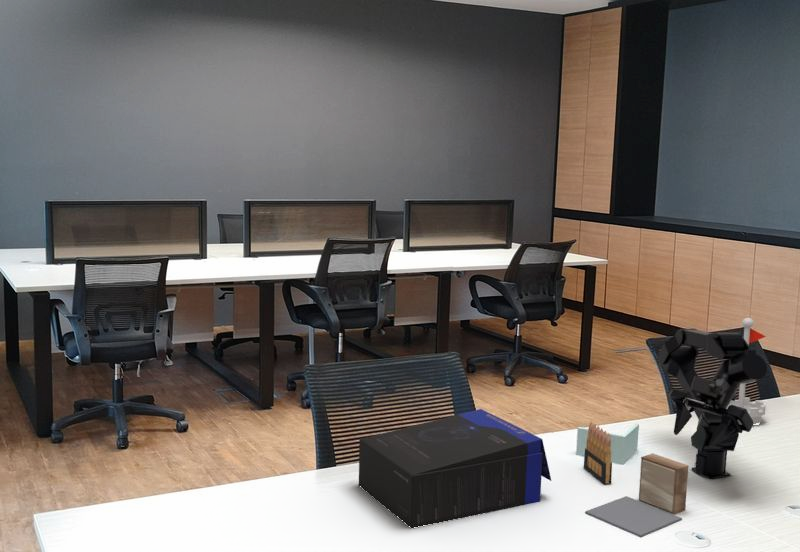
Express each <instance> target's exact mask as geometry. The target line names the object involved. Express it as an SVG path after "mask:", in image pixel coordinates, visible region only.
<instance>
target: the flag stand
mask: <svg viewBox="0 0 800 552" xmlns="http://www.w3.org/2000/svg"><path fill="white" fill-rule="evenodd" d="M741 325H742V326H743V328H744V330H743V338H744V339H745V341H746V342H747V344H748V345H749V346H750V344H752V343H753V342H756V341H759V340H761V339H764V338H766V337H767V336H766V335H764V334H762V333H760V332H759V331H756V330H755V329H752V327H753V326H754V321H753V319H752V318H750V317H746V318H744V319H742V324H741ZM746 384H747V383H744V384H742V383H741V384H740V386H739V388H738V391H739V392H738V399H736V400H735V401H733V400H731V402H730V403H729V405H728V406H730V405H735V406H738V407H741V408H745V409H746V410H747V411H748V413H749V415H750V416H751V418H752V420H753V424H756V423H759V422H760V423H761V419H762V417H763V416H764V415H766V409H767V407H766V404H764V402H763V401H761V400H759V399H757V400H756V399H755V401H754V402H752V401H751V397H747V396H746ZM727 408H728V407H727Z"/></svg>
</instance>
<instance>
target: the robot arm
mask: <svg viewBox="0 0 800 552" xmlns="http://www.w3.org/2000/svg"><path fill="white" fill-rule="evenodd" d="M699 349H703V350H706V353H707V354H708V355H709V356H712V357H713V358H717V360H723V361H722V362H721V363H720V364H719V365H718V369H717V371H716V372H715V374H714V376H713V377H712V378H710V377H709V378H708V379H706V378H703V377H700V376H699V374H698V373H697V371H696V369H695V366H696V362H697V357H698V356H699V354H700V351H699ZM658 361H659V363H660V365H661V367H662V368H663V369H664V371H665V372H666V373H667V374H668V375H670V376H672V377H673V378H675V379H677V381H678V384H679V385H680V387H681V389H680V388H673V389H672V390H671V391H670V393H669V395H668V398H669V399H670V401H671V402H672V404H673V405H674V407H675V408H676V415H675V420H674V421H675V422H674V427H673V434H674V435H675V436H677V435H678V434H680V433H681V432H682V430H683V429H684V428H685V426H686V425H687V424H688V422H689V420H691V418H692V417H693V415H692V413H695V415H696V417H697V420H698V421H697V427H696V430H695V432H694V433H693V434H692V435H691V436H690V439H691V440H690V442H691V446H692V448H695V449H696V450H697V453H696V455H695V466H694V467H691V471H693V472H695V473H696V474H699V475H700V476H703V477H705V478H707V479H709V480H711V479H712V480H713V479H719V478H725V477H730V476H731V473H730V472H728V471H726V470H727V469H726V468H727V459H728V458H727V456H728V451H731V452H735V449H736V445H737V442H738V439H739V436H740V435H739V434H742V433H743V432H746V433H750V432H751V430H752V428H753V427H754V426H753V420H752V418H751V416H750V415H749V413H748V411H747V410H746V409H745V408H741V407H738V406H735V405H730V406H728V405H729V403H730V402H731V400H733V401H735V400H737V396H736V393H737V391H739V389H740V384H741V383H742V384H744V383H746V384H748V383H752V382H754V381H758V380H761V379H763V378H764V377H765V376H766V374H767V372H768V366H767V363H766V362H765V360H764V359H763V357H761V356H760V355H758V354H757V351H756V349H753V348H751V347H750V344H749V345H748V344H747V342H746V341H745V339H744V335H743V334H741V333H740V332H710V331H709V332H708V331H704V330H700V329H696V328H680V329H677V330H676V332H675V335H673V336H672V337H670V338H669V339H668V340H666V341H664V343H663V344H662V347H661V348H660V350H659V352H658ZM727 407H728V408H727Z"/></svg>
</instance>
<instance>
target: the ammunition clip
mask: <svg viewBox="0 0 800 552" xmlns="http://www.w3.org/2000/svg"><path fill="white" fill-rule="evenodd" d="M603 432H604V433H603ZM606 432H607V431H606V430H604V429H603V428H600V426H599V425H596V423H594V424H593V421H592V420H591V421H590V422H589V424H588V436H587V445H586V448H585V456H583V470H585V471H586V472H587V473H588V474H590V475H591V476H592V477H593V478H595V479H596V480H597V481H598V482H599V483H601V485H603V486H605V485H612V473H613V462H611V437H610V434H609V433H610V432H608V435H607V433H606Z"/></svg>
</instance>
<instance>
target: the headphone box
mask: <svg viewBox="0 0 800 552" xmlns="http://www.w3.org/2000/svg"><path fill="white" fill-rule="evenodd" d="M358 447H359V451H358V452H359V454H358V455H359V458H358V487H359V486H361V487H362V488H363V489H364V490H365V491H367V492H368V493H369V494H370V495H371V496H373V497H374V498H375V499H376V500H378V501H379V502H380V503H381V504H382V505H384V506H385V507H386V508H387V509H389V510H390V511H391V512H392V513H394V514H395V515H396V516H398V517H399V518H400V519H401V520H403V522H405V523H406V524H407V525H408V526H410V527H411V528H413V529H415V528H414V527H418V526H423V525H428V524H432V525H434V524H433V523H437V524H440V523H439V522H442V523H444V522H443V521H447V522H449V521H448V520H451V521H454V520H453V519H456V520H459V519H458V518H461V519H464V518H465V517H466V518H470V517H474V515H475V516H478V514H480V515H484V514H483V513H485V514H487V513H488V514H489V513H494V512H498V511H503V510H504V511H505V510H507V509H512V508H517V507H522V506H527V505H531V504H536V503H540V502H541V495H542V494H541V492H542V477H543V478H544V479H547V480H549V481H550V482H552V478H551V472H550V468H549V463H548V460H547V459H548V458H547V455H546V449H545V445H544V441H543V438H542V437H539V436H538V435H535V434H533V433H531V432H529V431H528V430H524V429H523V428H521V427H519V426H517V425H515V424H513V423H510V422H508V421H507V420H505V419H503V418H500V417H499V416H496V415H494V414H492V413H490V412H489V411H486V410H484V409H482V408H479V409H475V410H472V411H467V412H463V413H459V414H455V415H450V416H448V417H443V418H440V419H435V420H432V421H426V422H424V423H419V424H416V425H411V426H407V427H402V428H400V429H396V430H395V429H394V430H391V431H387V432H383V433H380V434H375V435H372V436H368V437H361V438H359V445H358ZM362 488H361V489H362ZM363 489H362V490H363ZM364 490H363V491H364ZM365 491H364V492H365ZM367 492H366V493H367ZM368 493H367V494H368ZM369 494H368V495H369ZM370 495H369V496H370ZM371 496H370V497H371ZM373 497H372V498H373ZM374 498H373V499H374ZM375 499H374V500H375ZM376 500H375V501H376ZM378 501H377V502H378ZM379 502H378V503H379ZM380 503H379V504H380ZM381 504H380V505H381ZM382 505H381V506H382ZM384 506H383V507H384ZM385 507H384V508H385ZM386 508H385V509H386ZM387 509H386V510H387ZM389 510H388V511H389ZM390 511H389V512H390ZM391 512H390V513H391ZM392 513H391V514H392ZM395 515H394V516H395ZM396 516H395V517H396ZM469 516H470V517H469ZM466 518H465V519H466ZM400 519H399V520H400ZM401 520H400V521H401ZM403 522H402V523H403ZM406 524H405V525H406ZM407 525H406V526H407ZM408 526H407V527H408ZM428 526H429V525H428ZM423 527H424V526H423ZM411 528H410V529H411ZM418 528H419V527H418Z"/></svg>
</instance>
